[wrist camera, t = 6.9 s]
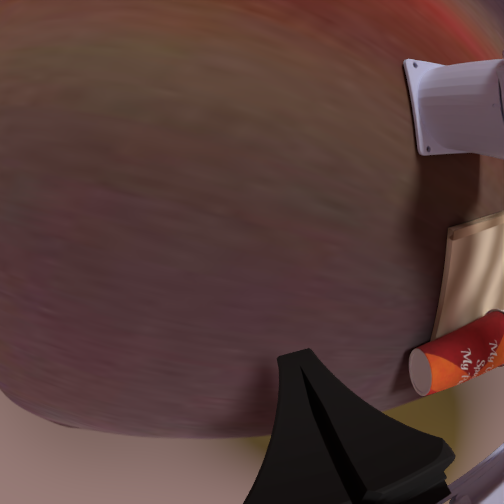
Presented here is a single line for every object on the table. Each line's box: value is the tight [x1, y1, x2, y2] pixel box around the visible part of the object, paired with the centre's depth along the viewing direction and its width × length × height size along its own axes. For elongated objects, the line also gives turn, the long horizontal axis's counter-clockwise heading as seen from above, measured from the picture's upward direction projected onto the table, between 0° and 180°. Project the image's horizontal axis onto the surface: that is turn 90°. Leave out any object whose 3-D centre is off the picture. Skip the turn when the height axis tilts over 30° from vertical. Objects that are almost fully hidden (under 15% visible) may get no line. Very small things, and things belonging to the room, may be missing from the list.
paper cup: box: [409, 309, 504, 396], centre depth 23 cm, size 8×8×14 cm
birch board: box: [430, 211, 504, 342], centre depth 25 cm, size 16×18×1 cm
